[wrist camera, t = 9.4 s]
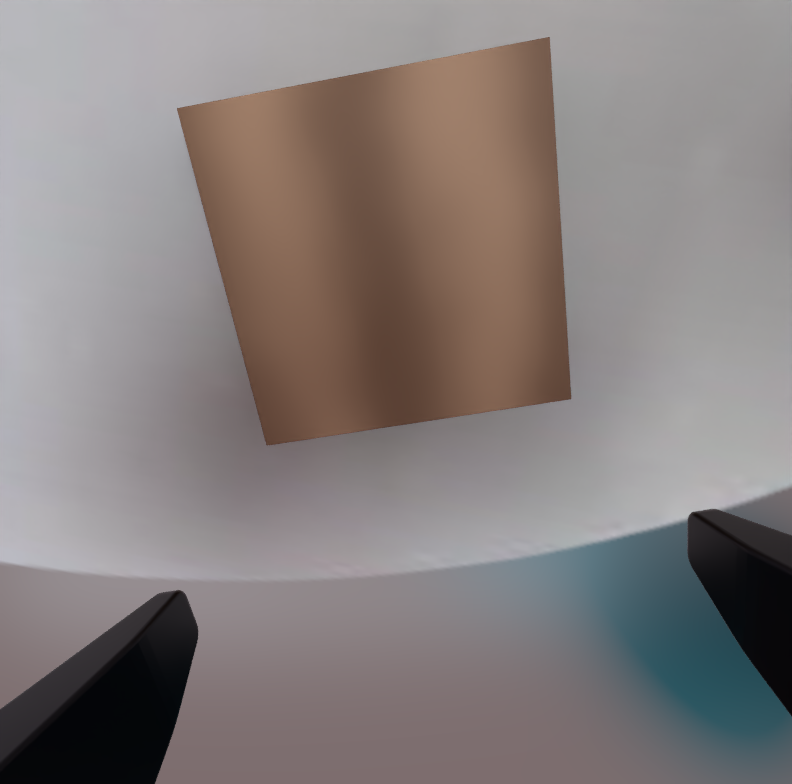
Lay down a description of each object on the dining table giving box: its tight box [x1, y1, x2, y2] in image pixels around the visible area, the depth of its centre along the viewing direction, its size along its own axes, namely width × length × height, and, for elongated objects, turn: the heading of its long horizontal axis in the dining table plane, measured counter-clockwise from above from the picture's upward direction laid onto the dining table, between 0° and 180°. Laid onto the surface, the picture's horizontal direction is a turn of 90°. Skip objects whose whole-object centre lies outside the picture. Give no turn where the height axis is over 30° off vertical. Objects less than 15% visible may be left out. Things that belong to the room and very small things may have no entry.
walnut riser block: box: [177, 37, 571, 445], centre depth 19 cm, size 12×12×3 cm
